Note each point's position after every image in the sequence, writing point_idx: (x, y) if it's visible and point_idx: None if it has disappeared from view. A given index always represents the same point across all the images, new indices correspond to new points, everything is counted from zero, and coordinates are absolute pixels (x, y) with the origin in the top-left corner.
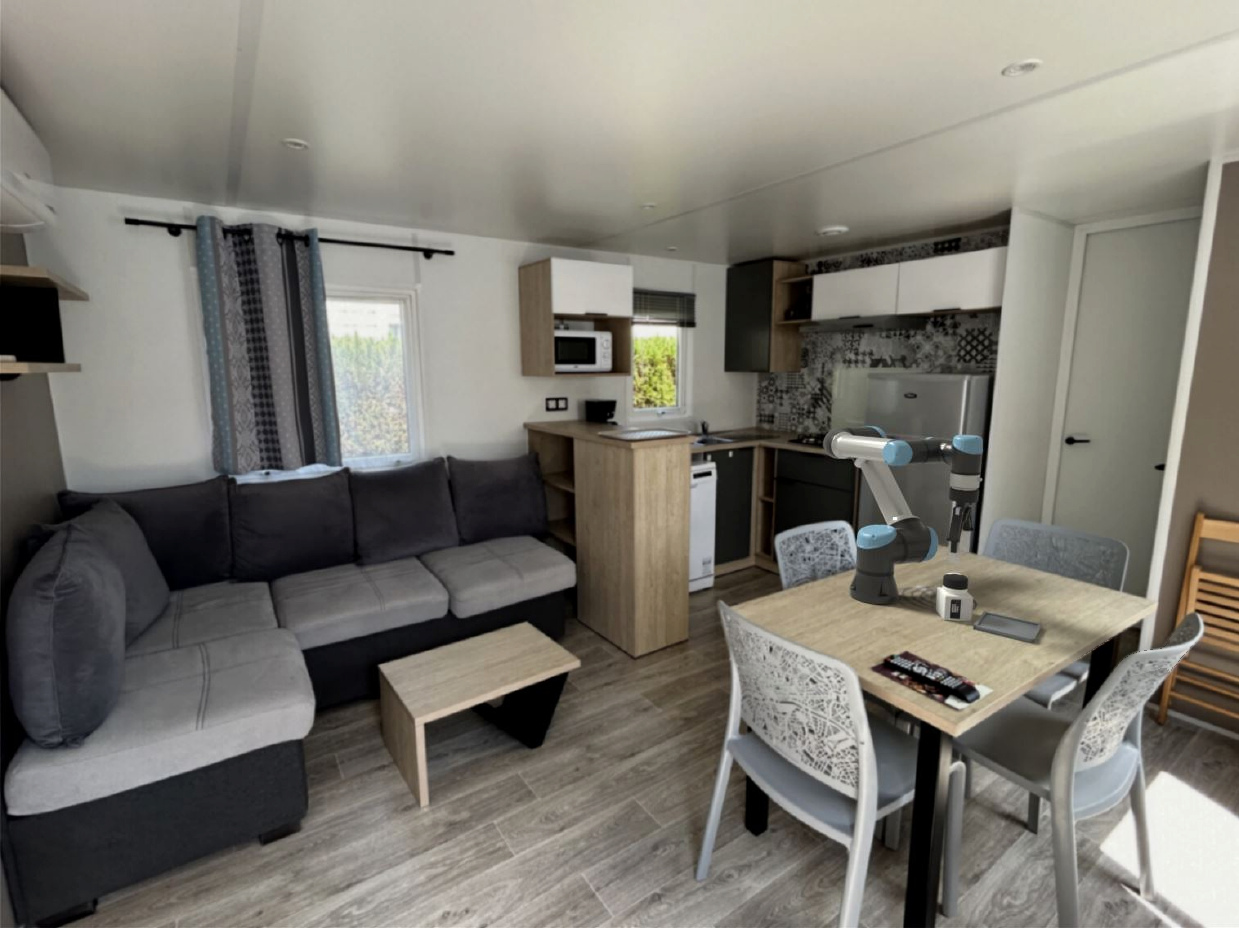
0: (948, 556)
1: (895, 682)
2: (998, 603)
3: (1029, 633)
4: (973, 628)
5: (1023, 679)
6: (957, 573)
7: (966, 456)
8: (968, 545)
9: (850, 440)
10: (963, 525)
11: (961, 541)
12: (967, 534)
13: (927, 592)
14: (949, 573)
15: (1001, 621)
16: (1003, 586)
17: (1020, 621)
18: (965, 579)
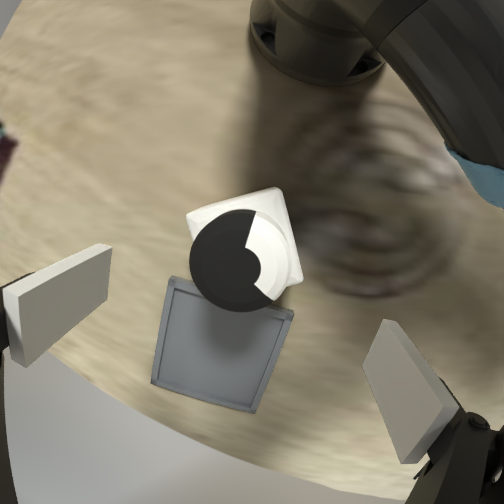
0: (78, 252)
1: None
2: None
3: (194, 383)
4: (171, 276)
5: None
6: (272, 276)
7: None
8: (374, 389)
9: None
10: (437, 468)
11: (399, 364)
12: (404, 433)
13: (420, 174)
14: (256, 241)
15: (244, 344)
16: (487, 353)
17: (261, 380)
18: (213, 301)
